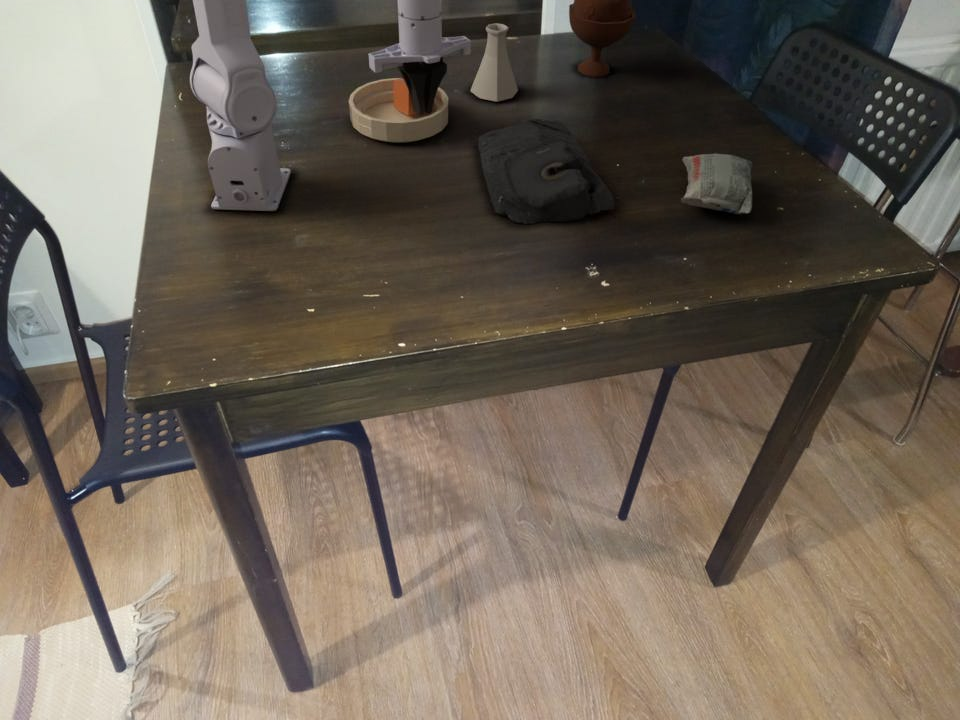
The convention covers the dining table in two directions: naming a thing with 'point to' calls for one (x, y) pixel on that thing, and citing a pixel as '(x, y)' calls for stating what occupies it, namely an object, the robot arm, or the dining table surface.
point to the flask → (495, 68)
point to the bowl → (393, 114)
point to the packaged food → (719, 183)
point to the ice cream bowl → (600, 28)
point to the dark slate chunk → (540, 174)
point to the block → (402, 98)
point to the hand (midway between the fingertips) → (422, 111)
